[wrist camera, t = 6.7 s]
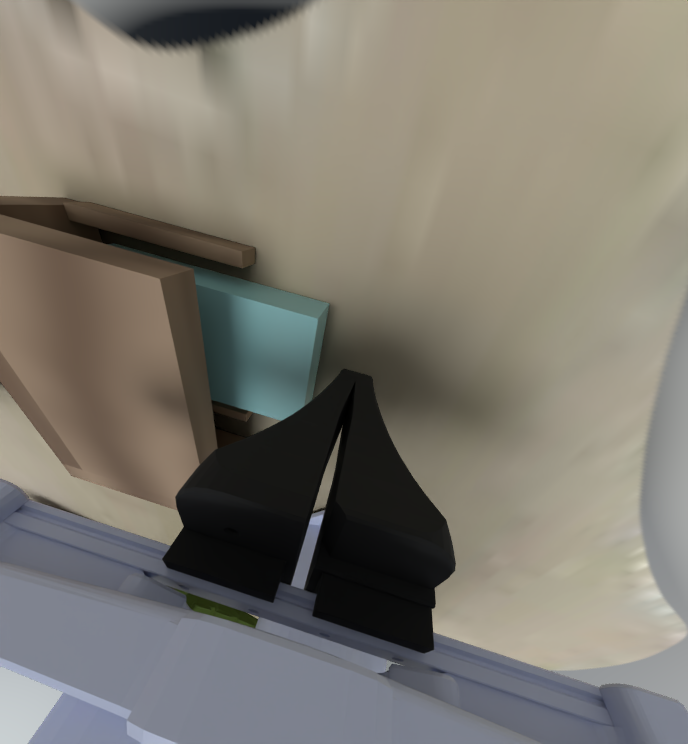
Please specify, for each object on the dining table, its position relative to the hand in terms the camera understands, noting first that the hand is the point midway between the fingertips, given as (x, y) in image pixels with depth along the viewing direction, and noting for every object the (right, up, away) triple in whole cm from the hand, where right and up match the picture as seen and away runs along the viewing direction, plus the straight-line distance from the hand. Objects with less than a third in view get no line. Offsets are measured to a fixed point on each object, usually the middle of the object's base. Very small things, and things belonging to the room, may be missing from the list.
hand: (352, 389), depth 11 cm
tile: (-6, +3, +2) cm, 7 cm away
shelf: (-8, +2, +2) cm, 9 cm away
